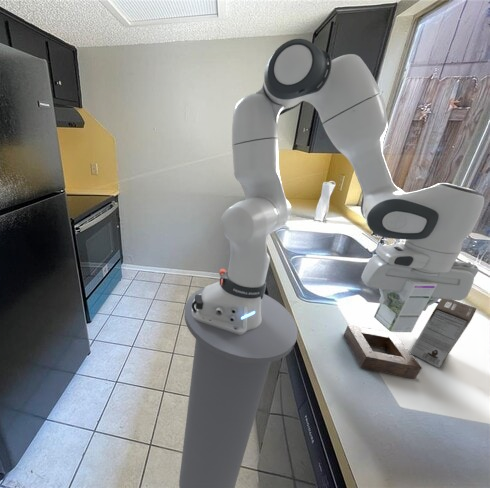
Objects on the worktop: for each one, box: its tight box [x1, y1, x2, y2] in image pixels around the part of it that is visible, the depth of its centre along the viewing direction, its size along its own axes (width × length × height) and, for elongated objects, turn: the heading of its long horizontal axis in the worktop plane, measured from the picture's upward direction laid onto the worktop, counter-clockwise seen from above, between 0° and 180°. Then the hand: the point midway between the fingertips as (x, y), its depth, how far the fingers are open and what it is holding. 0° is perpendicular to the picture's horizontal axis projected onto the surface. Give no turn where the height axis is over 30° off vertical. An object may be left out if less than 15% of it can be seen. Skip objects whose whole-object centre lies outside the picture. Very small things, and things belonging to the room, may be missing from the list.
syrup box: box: [373, 280, 437, 333], centre depth 64 cm, size 6×6×14 cm
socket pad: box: [343, 324, 423, 380], centre depth 70 cm, size 12×12×4 cm
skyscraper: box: [313, 180, 336, 223], centre depth 177 cm, size 8×8×28 cm
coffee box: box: [409, 298, 477, 368], centre depth 69 cm, size 9×6×16 cm
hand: (400, 306), depth 64 cm, fingers closed on syrup box, 6 cm apart
